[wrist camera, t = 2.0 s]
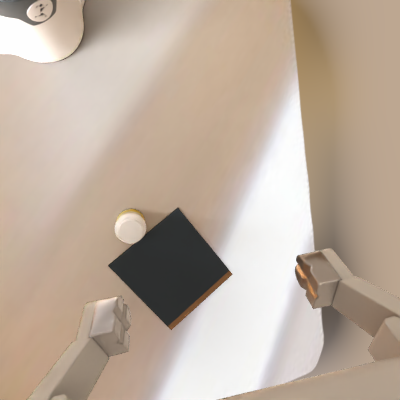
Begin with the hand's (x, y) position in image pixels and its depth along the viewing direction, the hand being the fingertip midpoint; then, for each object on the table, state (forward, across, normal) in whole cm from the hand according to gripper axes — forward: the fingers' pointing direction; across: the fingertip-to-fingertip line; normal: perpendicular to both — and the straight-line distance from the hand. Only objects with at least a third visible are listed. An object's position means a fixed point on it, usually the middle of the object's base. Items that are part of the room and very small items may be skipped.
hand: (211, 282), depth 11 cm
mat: (+28, +7, +33) cm, 44 cm away
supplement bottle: (+33, +13, +21) cm, 41 cm away
